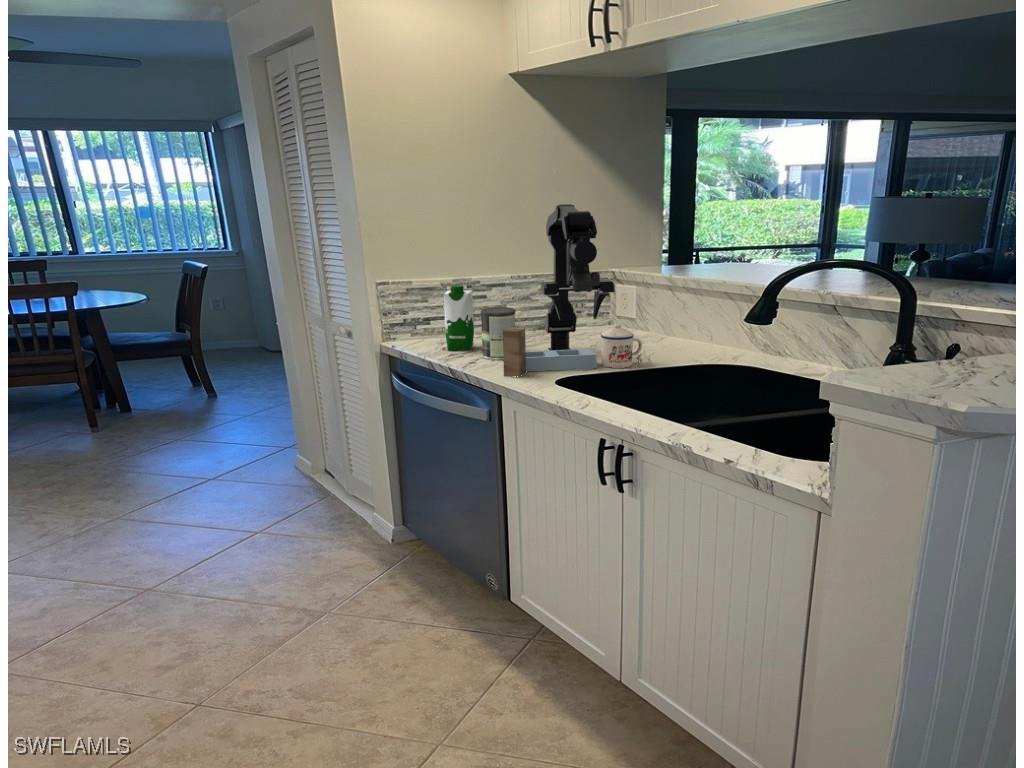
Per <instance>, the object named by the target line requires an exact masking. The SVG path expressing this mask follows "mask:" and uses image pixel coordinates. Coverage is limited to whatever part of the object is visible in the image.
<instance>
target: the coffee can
mask: <svg viewBox="0 0 1024 768" xmlns="http://www.w3.org/2000/svg"><path fill="white" fill-rule="evenodd" d="M480 314H481V315H480V316H481V318H480V319H481V342H482V343H481V345H482V346H481V347H482V348H481V349H482V358H483V359H485V358H486V360H489V359H492V361H500V360H499V359H503V330H505V329H508V328H516V309H515V308H512V307H506V306H505V307H503V306H501V307H499V306H497V307H496V306H495V307H486V308H482V309H481V310H480Z"/></svg>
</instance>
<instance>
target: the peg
mask: <svg viewBox="0 0 1024 768" xmlns="http://www.w3.org/2000/svg"><path fill="white" fill-rule="evenodd" d="M526 352H527V349H526V328H524V327H523V328H522V327H515V328H508V329H505V330H503V377H508V376H516V377H515V378H518V377H519V376H521V375H523V374H525V373H526V374H527V372H526ZM526 374H525V375H526ZM517 376H518V377H517ZM523 376H524V375H523ZM521 377H522V376H521ZM519 378H520V377H519Z"/></svg>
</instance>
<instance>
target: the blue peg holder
mask: <svg viewBox="0 0 1024 768" xmlns="http://www.w3.org/2000/svg"><path fill="white" fill-rule="evenodd" d="M597 360H598V359H597V354H596V352H595V351H594V350H592V349H591V348H578V349H577V348H576V349H571V350H551V351H549V350H531V351H526V371H539V372H546V371H545V370H560V371H577V369H578V370H579V369H581V370H593V369H592V368H597V365H598V364H597V363H598V361H597Z"/></svg>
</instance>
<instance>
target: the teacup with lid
mask: <svg viewBox="0 0 1024 768" xmlns="http://www.w3.org/2000/svg"><path fill="white" fill-rule="evenodd" d="M600 337H601V366H602V367H604V366H606V367H605V368H608V367H612V368H611V369H625V367H627V368H629V366H630V367H631V365H632V366H633V357H634V356H636V355H639V353H641V351H642V349H643V343H642V340H641V339H639V338H637V337H635V335H634V333H633V332H632V331H630V330H627V329H626V328H624V327H622V324H620V323H615V324H614V325H613V327H611V328H609V329H608V330H605V331H602V332H601V334H600ZM634 342H638V347H637V350H636V351H635V352H634V351H633V350H634V349H633V347H634Z"/></svg>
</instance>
